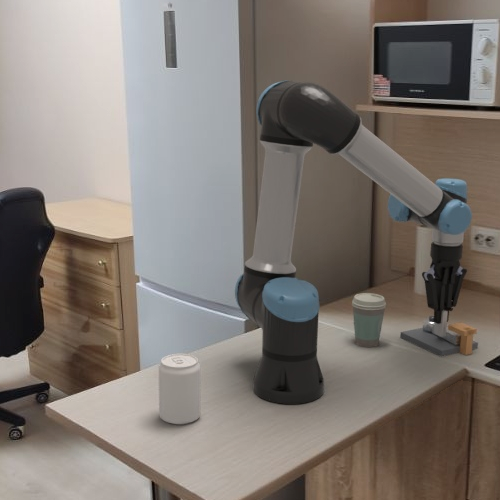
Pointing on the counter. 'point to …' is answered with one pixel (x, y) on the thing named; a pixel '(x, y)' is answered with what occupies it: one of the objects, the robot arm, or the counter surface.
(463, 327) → the block
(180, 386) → the beverage can
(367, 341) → the coffee cup
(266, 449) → the counter surface
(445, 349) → the board
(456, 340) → the link
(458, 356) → the counter surface
